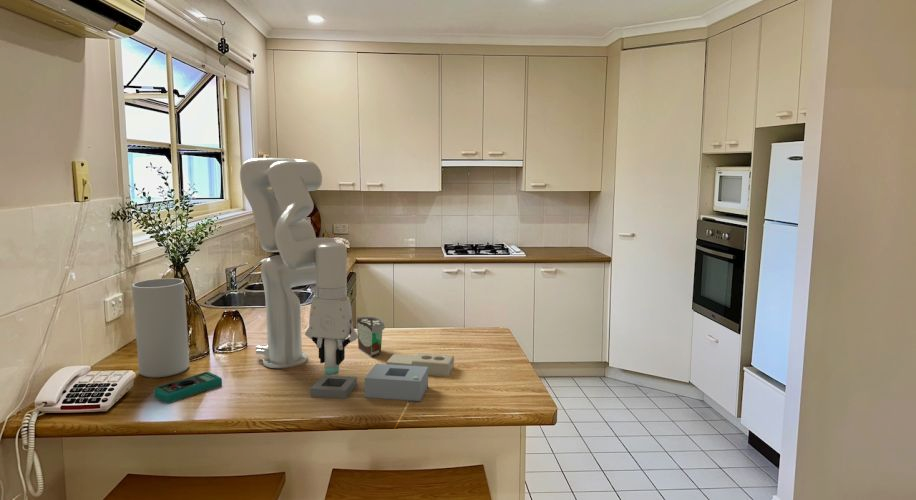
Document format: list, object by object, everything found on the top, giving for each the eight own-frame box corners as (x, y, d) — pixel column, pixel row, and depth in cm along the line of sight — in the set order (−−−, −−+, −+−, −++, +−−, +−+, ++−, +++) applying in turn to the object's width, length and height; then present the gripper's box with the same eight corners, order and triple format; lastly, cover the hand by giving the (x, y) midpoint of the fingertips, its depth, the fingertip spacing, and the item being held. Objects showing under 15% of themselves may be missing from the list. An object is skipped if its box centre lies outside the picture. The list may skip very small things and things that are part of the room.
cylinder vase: (165, 380, 147) (159, 289, 143) (128, 375, 150) (120, 285, 147) (199, 365, 159) (194, 279, 155) (163, 360, 162) (157, 277, 159)
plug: (322, 374, 140) (322, 336, 138) (327, 368, 143) (327, 332, 141) (336, 375, 139) (335, 337, 137) (340, 370, 143) (340, 333, 141)
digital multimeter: (151, 398, 137) (150, 386, 137) (208, 380, 149) (208, 369, 149) (165, 406, 133) (164, 394, 133) (223, 386, 145) (223, 376, 144)
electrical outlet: (394, 350, 162) (454, 355, 159) (394, 363, 163) (454, 368, 159) (386, 358, 155) (449, 363, 152) (386, 372, 156) (449, 377, 152)
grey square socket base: (310, 397, 137) (310, 388, 137) (324, 384, 146) (323, 375, 146) (345, 400, 136) (345, 390, 136) (356, 386, 145) (356, 377, 144)
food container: (391, 355, 169) (391, 323, 167) (373, 358, 165) (373, 326, 164) (374, 344, 179) (373, 314, 177) (356, 347, 176) (356, 317, 174)
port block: (364, 399, 137) (364, 376, 136) (376, 383, 147) (376, 362, 146) (420, 402, 135) (420, 379, 134) (428, 386, 145) (428, 365, 144)
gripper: (293, 293, 135) (294, 364, 138) (358, 298, 133) (358, 370, 136) (305, 286, 142) (306, 354, 145) (368, 290, 140) (367, 359, 143)
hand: (331, 361), depth 141 cm, fingers closed on plug, 3 cm apart
